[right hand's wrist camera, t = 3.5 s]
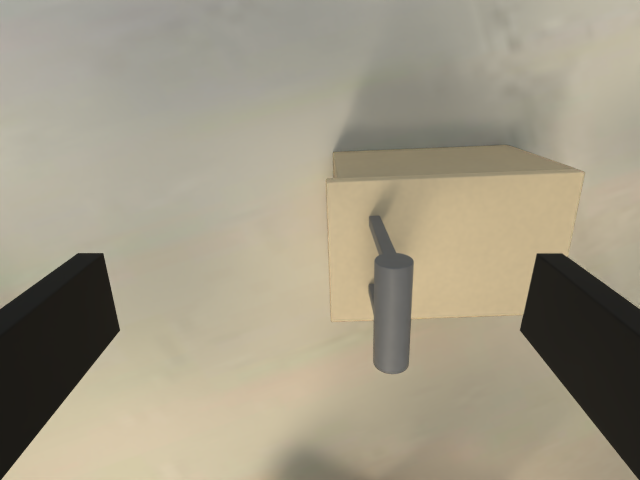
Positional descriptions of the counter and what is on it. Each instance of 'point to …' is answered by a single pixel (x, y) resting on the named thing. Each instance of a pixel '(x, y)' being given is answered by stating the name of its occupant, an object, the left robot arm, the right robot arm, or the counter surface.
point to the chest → (438, 161)
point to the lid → (441, 247)
